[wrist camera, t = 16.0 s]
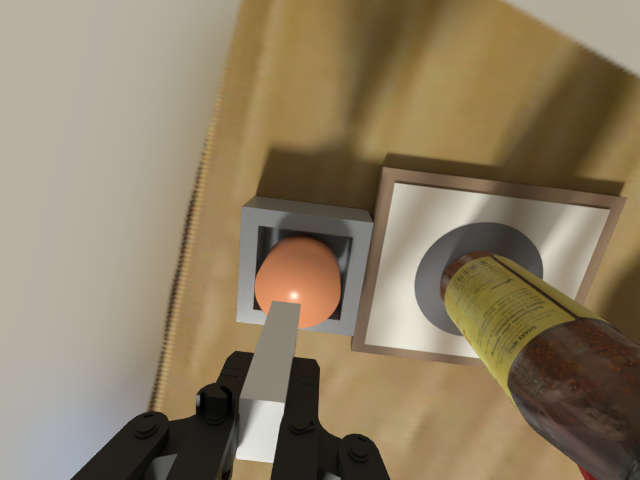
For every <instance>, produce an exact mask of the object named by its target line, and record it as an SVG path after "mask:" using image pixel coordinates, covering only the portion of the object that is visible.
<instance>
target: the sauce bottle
mask: <svg viewBox="0 0 640 480" xmlns="http://www.w3.org/2000/svg"><path fill="white" fill-rule="evenodd" d="M440 283H441V284H440V297H441V299H442V301H443V303H444V305H445V307H446V311H447V313H448V315H449V316H450V318H451V319H452V321H453V322H454V323H455V325H456V326H457V328H458V329H459V330H460V332H461V333H462V335H463V336H464V337H465V339H466V340H467V341H468V343H469V344H470V345H471V347H472V348H473V349H474V351H475V352H476V354H477V355H478V356H479V358H480V359H481V361H482V362H483V363H484V364H485V366H486V367H487V369H488V370H489V371H490V373H491V374H492V375H493V377H494V378H495V380H496V381H497V382H498V384H499V385H500V386H501V388H502V389H503V390H504V392H505V393H506V394H507V396H508V397H509V399H510V400H511V402H512V403H513V404H514V405H515V407H516V408H517V409H518V411H519V412H520V413H521V415H522V416H523V418H524V419H525V420H526V421H527V423H528V424H529V425H530V426H531V427H532V428H533V429H534V430H535V431H536V432H537V433H538V434H539V435H540V436H542V437H543V438H544V439H546V440H547V441H548V442H549V443H551V444H552V445H553V446H555V447H556V448H557V449H558V450H560V451H561V452H562V453H564V454H565V455H566V456H568V457H569V458H570V459H571V460H573V461H574V462H575V463H577V464H578V465H579V466H580V467H582V468H583V469H584V470H586V471H587V472H588V473H589V474H591V475H592V476H593V477H595V478H596V479H597V480H640V345H638V344H637V343H635V342H634V341H632V340H631V339H629V338H627V337H626V336H624V335H623V334H622V332H621V331H620V330H619V329H617V328H616V327H615V326H613V325H612V324H610V323H609V322H607V321H606V320H604V319H602V318H601V317H599V316H598V315H596V314H595V313H593V312H591V311H590V310H588V309H587V308H585V307H584V306H582V305H580V304H579V303H577V302H576V301H574V300H573V299H571V298H570V297H568V296H566V295H565V294H563V293H562V292H560V291H559V290H557V289H556V288H554V287H553V286H551V285H549V284H548V283H546V282H545V281H543V280H542V279H540V278H539V277H537V276H535V275H534V274H532V273H531V272H529V271H528V270H526V269H524V268H523V267H521V266H520V265H518V264H517V263H515V262H514V261H512V260H510V259H508V258H505V257H502V256H500V255H498V254H494V253H490V252H484V251H477V252H472V253H468V254H466V255H464V256H462V257H461V258H459V259H457V260H456V261H454V262H453V263H452V264H451V265H450V266H449V267H448V268H447V270H446V271H445V272H444V274H443V277H442V279H441V282H440Z"/></svg>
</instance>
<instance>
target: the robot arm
mask: <svg viewBox="0 0 640 480" xmlns="http://www.w3.org/2000/svg"><path fill="white" fill-rule="evenodd" d="M300 309H301V304H297V303H289V302H280V301H272V303H271V306H270V309H269V312H268V315H267V318H266V321H265V324H264V327H263V329H262V332H261V335H260V338H259V341H258V344H257V347H256V350H255V353H249V352H240V351H235V352H234V353H232V354H231V355H230V356H229V357H228V358H227V360H226V362H225V364H224V366H223V369H222V371H221V373H220V376H219V377H218V379H217V382H216V383H212V384H209V385H206V386H205V387H203V388H202V389H200V390H199V392H198V393H197V394H196V414H195V415H193V416H191V417H188V418H184V419H179V420H173V421H169V420H168V418H167V416H166V415H164V414H163V413H161V412H155V411H152V412H146V413H143V414H140V415H138V416H136V417H135V418H133V419H132V420H131V421H129V422H128V423H127V424H126V425H125V426H124V427H123V428H122V429H121V430H120V431H119V432H118V433H117V434H116V435H115V436H114V437H113V438H112V439H111V440H110V441H109V442H108V443H107V444H106V445H105V446H104V447H103V448H102V449H101V450H100V451H99V452H98V453H97V454H96V455H95V456H94V457H93V458H92V459H91V460H90V461H89V462H88V463H87V464H86V465H85V466H84V467H83V468H82V469H81V470H80V471H79V472H78V473H77V474H76V475H75V476H74V477H73V478H72V479H71V480H231V477H232V471H233V462H234V458H235V455H236V459H243V460H252V461H261V462H270V463H273V468H272V474H271V479H270V480H390V478H389V475H388V473H387V470H386V468H385V465H384V463H383V460H382V458H381V455H380V453H379V450H378V448H377V447H376V445H375V444H374V442H373V441H371V440H370V439H369V438H368V437H366V436H363V435H361V434H350V435H346V436H345V437H344V438H343V439H341V438H338V437H336V436H334V435H332V434H330V433H328V432H327V431H326V430H325V429H324V428H323V427H322V425H321V424H320V422H319V419H318V402H319V378H320V367H319V365H318V363H317V361H316V360H315V359H307V358H298V357H295V351H296V344H297V335H298V326H299V318H300ZM236 451H237V454H236Z"/></svg>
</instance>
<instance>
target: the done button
mask: <svg viewBox="0 0 640 480" xmlns="http://www.w3.org/2000/svg"><path fill="white" fill-rule="evenodd" d="M340 294H341V287H340V267H339V261H338V258H337V256H336V254H335V252H334V250H333V249H332V248H331V247H330V246H329V245H328V244H327V243H326V242H325V241H323V240H322V239H320V238H318V237H315V236H312V235H308V234H294V235H290V236H287V237H285V238H283V239H281V240H280V241H278V242H277V243H276V244H275V245H274V246H273V247H272V248H271V250H270V251H269V253H268V255H267V257H266V259H265V260H264V262H263V264H262V266H261V268H260V270H259V272H258V274H257V276H256V280H255V296H256V299H257V302H258V304H259V306H260V307H261V309H262V310H263V312H264V313H265V314H266V315H268V312H269V309H270V306H271V303H272V301H280V302H289V303H297V304H301V309H300V318H299V326H298V328H308V327H312V326H315V325H318V324H320V323H322V322H323V321H325V320H326V319H327V318H329V317H330V316H331V315H332V313H333V312H334V311H335V309H336V307H337V305H338V303H339V300H340Z"/></svg>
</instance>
